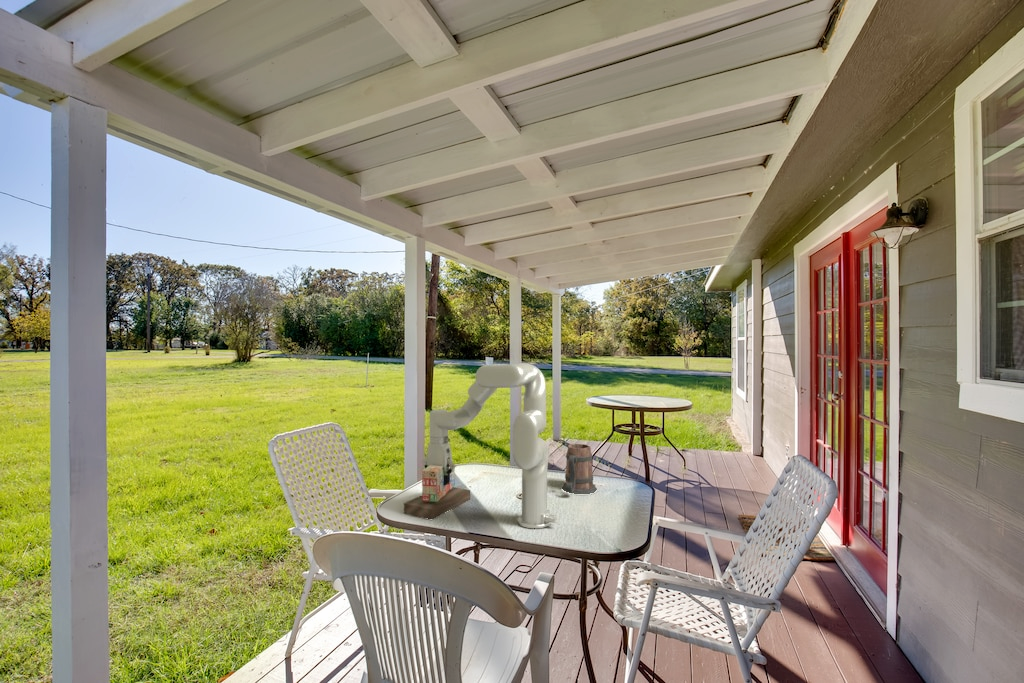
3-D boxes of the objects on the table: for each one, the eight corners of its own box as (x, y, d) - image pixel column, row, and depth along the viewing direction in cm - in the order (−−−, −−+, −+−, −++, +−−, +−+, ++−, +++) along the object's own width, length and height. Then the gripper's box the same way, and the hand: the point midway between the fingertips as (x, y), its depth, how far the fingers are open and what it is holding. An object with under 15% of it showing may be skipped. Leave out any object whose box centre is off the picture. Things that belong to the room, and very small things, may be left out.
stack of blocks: (441, 484, 201) (441, 456, 201) (455, 485, 200) (455, 457, 200) (421, 501, 180) (421, 469, 180) (437, 502, 179) (437, 470, 179)
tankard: (567, 481, 223) (567, 440, 223) (601, 486, 215) (602, 444, 216) (550, 496, 202) (550, 450, 202) (587, 502, 194) (587, 455, 194)
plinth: (470, 499, 197) (470, 490, 197) (431, 520, 174) (431, 509, 174) (444, 494, 204) (444, 485, 204) (403, 513, 181) (403, 503, 181)
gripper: (461, 440, 188) (461, 483, 188) (428, 436, 197) (427, 477, 197) (450, 444, 182) (450, 488, 182) (416, 439, 190) (416, 482, 190)
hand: (438, 482), depth 189 cm, fingers closed on stack of blocks, 7 cm apart
